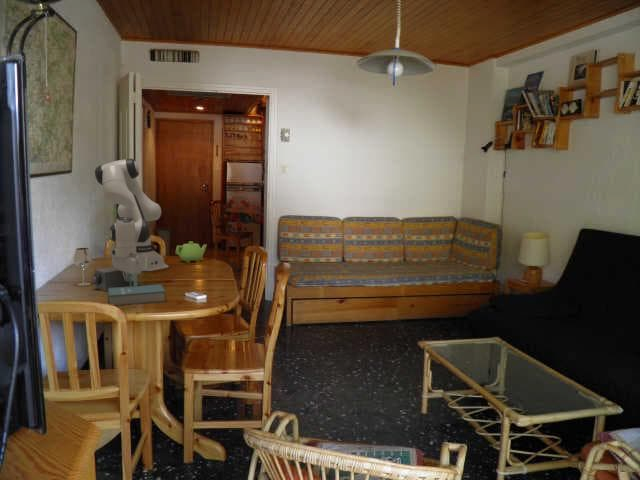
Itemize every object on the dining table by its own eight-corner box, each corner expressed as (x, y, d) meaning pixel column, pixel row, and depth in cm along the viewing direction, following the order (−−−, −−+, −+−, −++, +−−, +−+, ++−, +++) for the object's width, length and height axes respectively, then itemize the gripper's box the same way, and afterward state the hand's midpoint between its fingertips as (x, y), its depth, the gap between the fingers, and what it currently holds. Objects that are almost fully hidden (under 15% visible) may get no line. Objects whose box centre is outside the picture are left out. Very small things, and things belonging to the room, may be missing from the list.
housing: (126, 283, 266) (125, 264, 265) (136, 286, 260) (136, 266, 259) (91, 288, 253) (90, 268, 252) (101, 292, 246) (100, 271, 245)
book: (109, 307, 222) (109, 295, 221) (108, 298, 236) (108, 287, 236) (165, 302, 230) (164, 291, 230) (161, 294, 245) (160, 283, 244)
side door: (135, 285, 260) (135, 269, 258) (139, 285, 260) (139, 269, 259) (129, 292, 245) (129, 275, 244) (134, 292, 245) (133, 275, 244)
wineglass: (75, 286, 257) (73, 250, 254) (74, 283, 264) (72, 248, 262) (93, 285, 260) (91, 249, 258) (92, 282, 268) (90, 247, 265)
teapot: (203, 258, 343) (203, 239, 341) (210, 261, 331) (210, 241, 330) (172, 261, 332) (172, 241, 330) (179, 264, 321) (178, 243, 319)
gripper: (144, 254, 241) (145, 283, 243) (121, 248, 254) (122, 276, 256) (131, 255, 236) (132, 286, 238) (109, 250, 250) (110, 278, 252)
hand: (127, 281), depth 247 cm, fingers closed
